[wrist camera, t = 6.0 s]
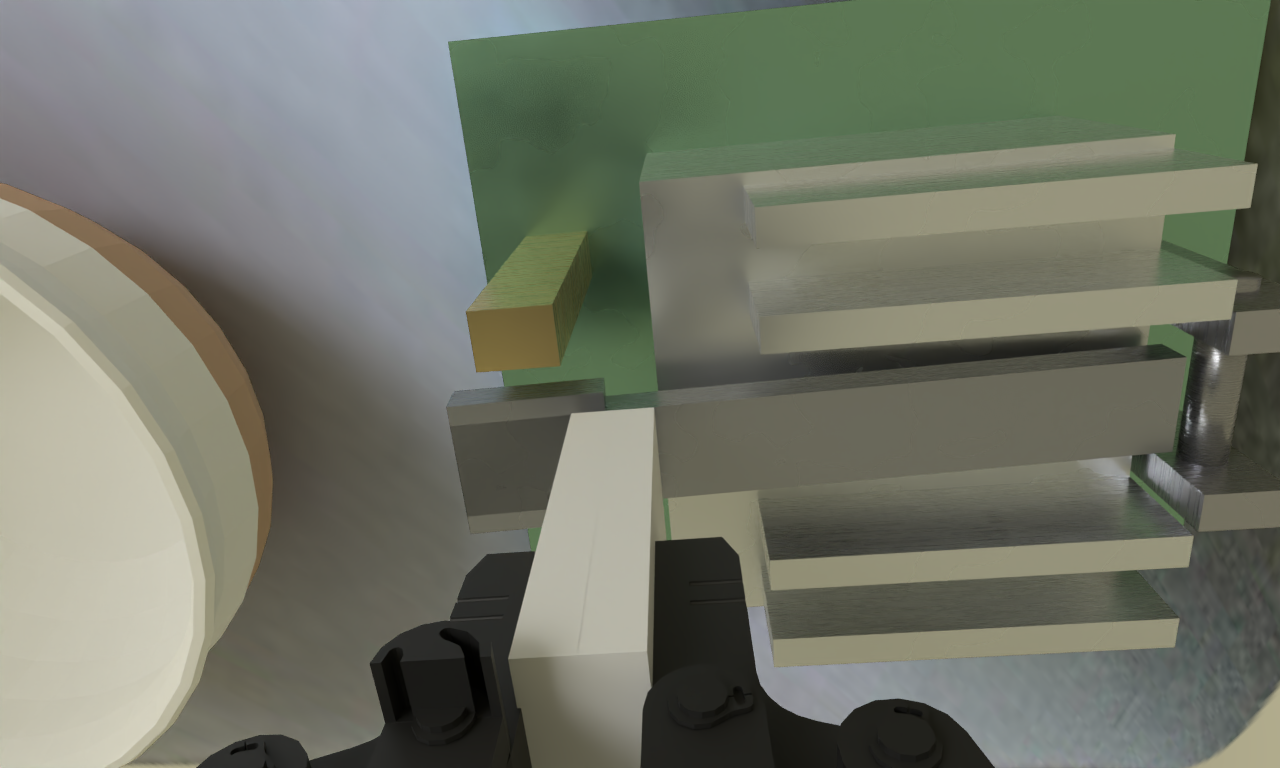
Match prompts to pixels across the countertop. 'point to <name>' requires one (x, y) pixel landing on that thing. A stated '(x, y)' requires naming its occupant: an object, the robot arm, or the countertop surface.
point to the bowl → (113, 490)
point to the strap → (828, 426)
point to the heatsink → (894, 279)
